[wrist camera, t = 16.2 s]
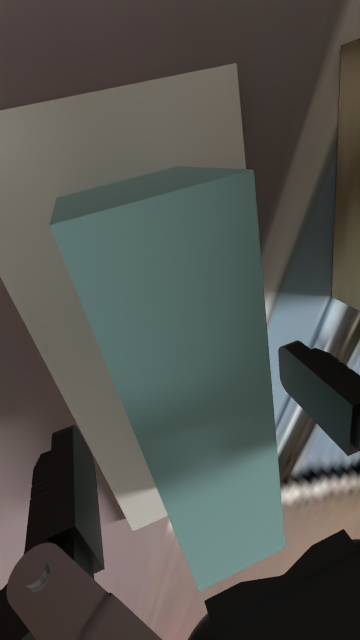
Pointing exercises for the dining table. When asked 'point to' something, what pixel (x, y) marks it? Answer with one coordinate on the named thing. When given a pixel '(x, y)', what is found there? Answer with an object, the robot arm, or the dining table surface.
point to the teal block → (186, 349)
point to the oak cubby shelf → (348, 182)
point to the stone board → (86, 173)
